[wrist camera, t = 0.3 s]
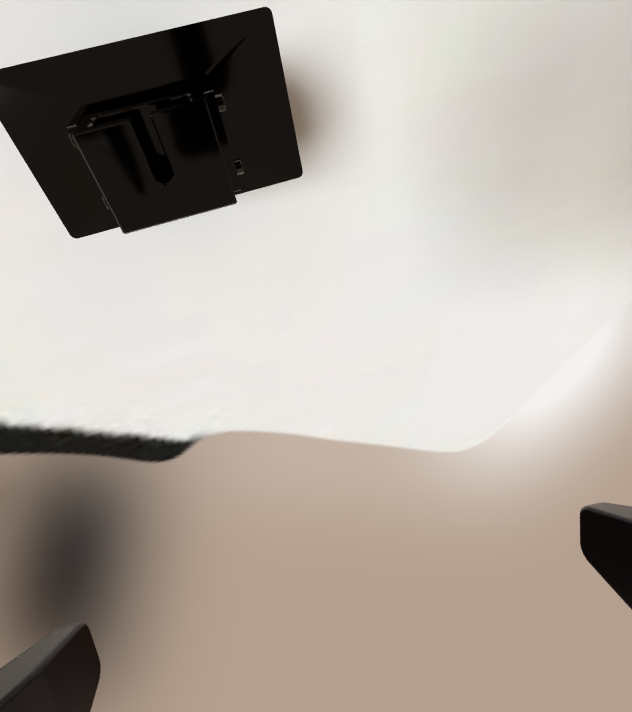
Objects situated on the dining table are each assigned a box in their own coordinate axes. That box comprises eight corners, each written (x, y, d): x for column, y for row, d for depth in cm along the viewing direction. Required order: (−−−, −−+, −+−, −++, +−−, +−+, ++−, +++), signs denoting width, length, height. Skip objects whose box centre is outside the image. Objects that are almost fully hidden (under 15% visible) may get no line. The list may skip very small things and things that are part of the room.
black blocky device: (311, -41, 13) (357, -42, 10) (339, 186, 18) (376, 233, 15) (-94, 53, 13) (-186, 84, 9) (52, 264, 18) (26, 332, 14)
